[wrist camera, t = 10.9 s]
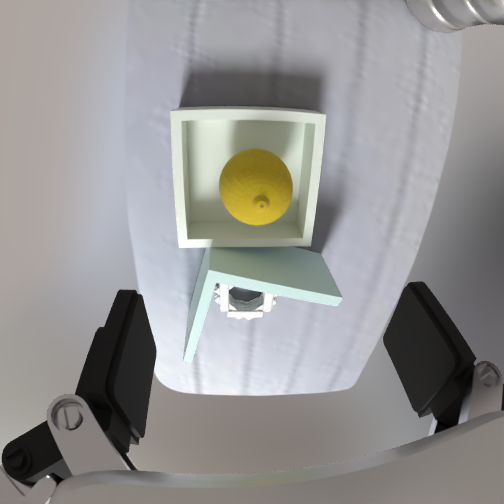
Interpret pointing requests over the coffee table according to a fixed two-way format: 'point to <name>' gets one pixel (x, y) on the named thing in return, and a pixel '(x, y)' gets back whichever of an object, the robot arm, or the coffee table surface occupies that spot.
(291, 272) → the l-shaped corner panel
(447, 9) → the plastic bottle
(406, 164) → the coffee table surface
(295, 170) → the bin
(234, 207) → the lemon
